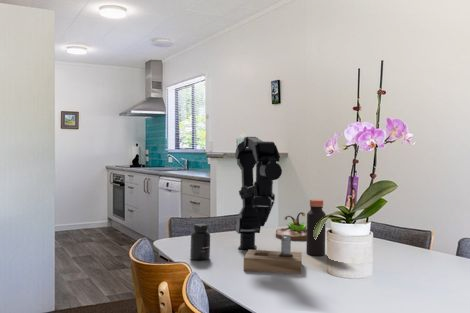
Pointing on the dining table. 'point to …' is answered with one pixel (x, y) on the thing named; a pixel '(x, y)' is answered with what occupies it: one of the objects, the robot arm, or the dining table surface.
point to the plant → (294, 230)
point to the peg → (285, 246)
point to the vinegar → (313, 217)
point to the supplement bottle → (200, 243)
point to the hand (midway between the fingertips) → (263, 224)
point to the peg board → (272, 261)
